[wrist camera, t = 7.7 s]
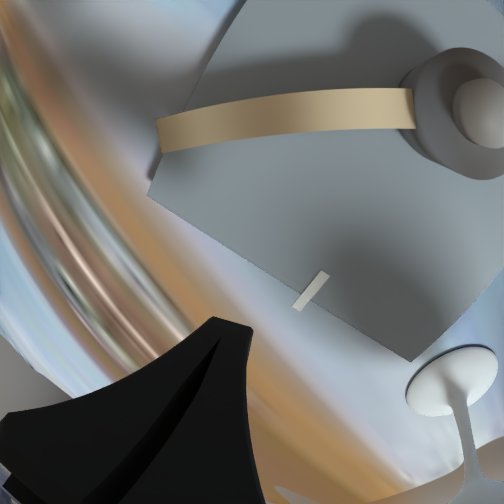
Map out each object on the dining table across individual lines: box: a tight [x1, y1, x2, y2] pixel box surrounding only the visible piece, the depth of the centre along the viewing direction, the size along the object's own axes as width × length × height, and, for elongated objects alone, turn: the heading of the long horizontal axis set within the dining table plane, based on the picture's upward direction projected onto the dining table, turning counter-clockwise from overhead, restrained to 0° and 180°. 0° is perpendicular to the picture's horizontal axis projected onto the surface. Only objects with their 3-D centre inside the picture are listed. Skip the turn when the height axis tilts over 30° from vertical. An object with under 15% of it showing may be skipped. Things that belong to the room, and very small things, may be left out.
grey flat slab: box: [147, 0, 504, 362], centre depth 13 cm, size 20×22×2 cm
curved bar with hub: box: [156, 47, 504, 180], centre depth 10 cm, size 19×5×5 cm, turn 98°
